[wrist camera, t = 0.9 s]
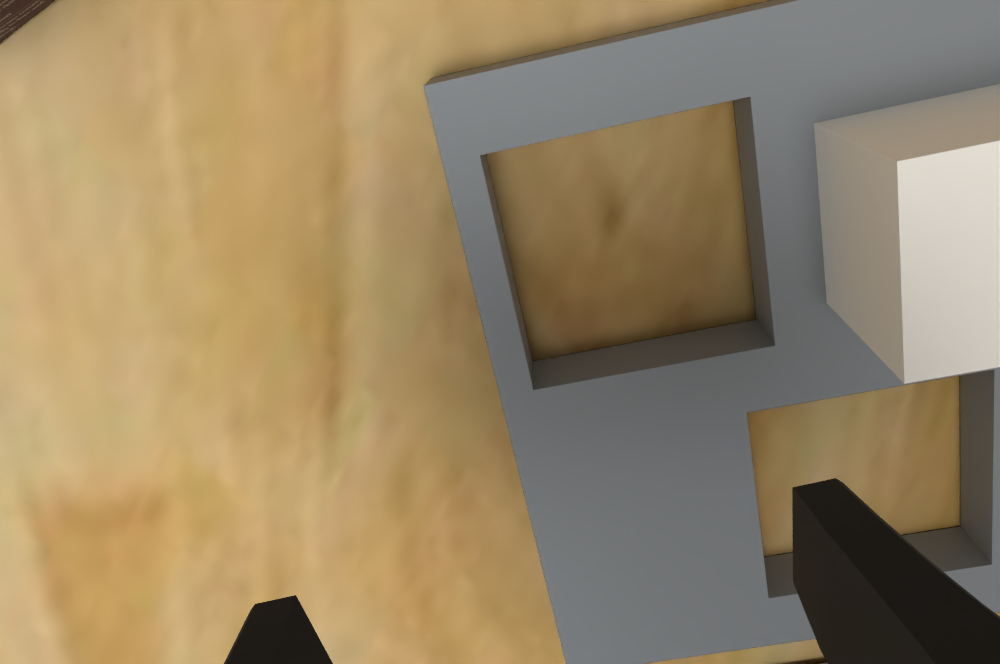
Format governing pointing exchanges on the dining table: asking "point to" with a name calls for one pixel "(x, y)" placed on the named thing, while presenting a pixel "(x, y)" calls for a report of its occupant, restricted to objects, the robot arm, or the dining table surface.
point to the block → (916, 231)
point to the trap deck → (714, 351)
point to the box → (18, 14)
